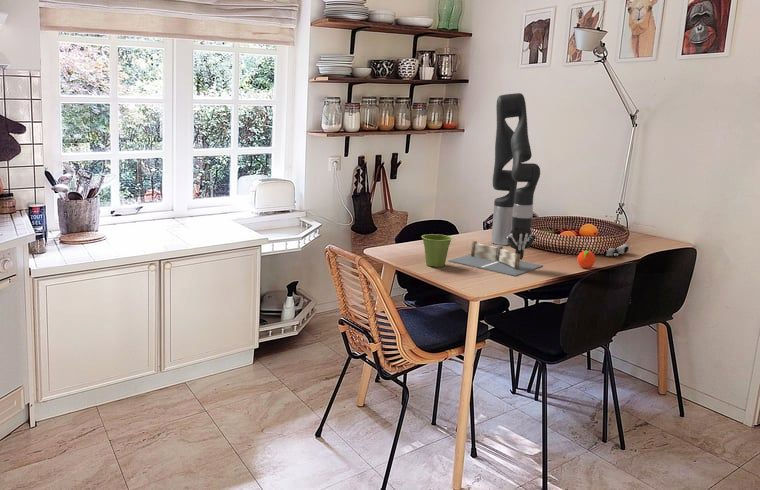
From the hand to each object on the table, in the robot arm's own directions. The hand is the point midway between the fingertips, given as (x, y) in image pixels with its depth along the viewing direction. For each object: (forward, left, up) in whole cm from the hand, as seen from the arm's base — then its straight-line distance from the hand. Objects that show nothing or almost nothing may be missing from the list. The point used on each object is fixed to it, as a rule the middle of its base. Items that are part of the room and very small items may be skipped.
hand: (518, 259), depth 260 cm
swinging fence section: (+1, -4, -3) cm, 5 cm away
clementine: (-21, +18, -4) cm, 28 cm away
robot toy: (-53, +16, -4) cm, 56 cm away
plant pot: (+21, -25, -4) cm, 33 cm away
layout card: (+1, -10, -4) cm, 10 cm away
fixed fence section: (-2, -16, -4) cm, 17 cm away
